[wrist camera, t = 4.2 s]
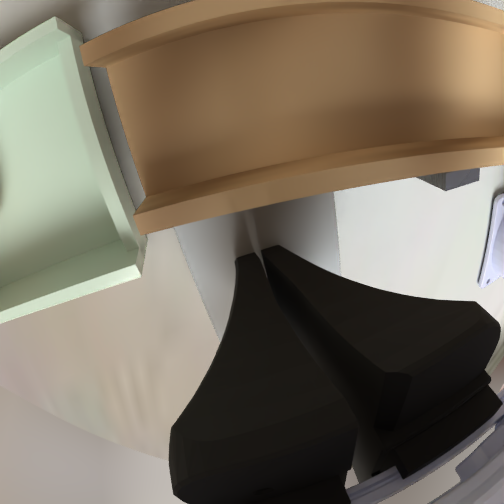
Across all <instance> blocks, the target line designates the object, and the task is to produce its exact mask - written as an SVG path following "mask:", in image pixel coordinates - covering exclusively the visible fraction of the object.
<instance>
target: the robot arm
mask: <svg viewBox="0 0 504 504" xmlns="http://www.w3.org/2000/svg"><path fill="white" fill-rule="evenodd" d="M261 253H262V258H263V262H264V266H265V270H266V273H265V270H264V268H263V265H262V262H261V260H260V258H259V257H258V256H257V255H256V253H255V252H253V253H250V254H247V255H244V256H241V257H238V258H236V260H235V261H234V263H235V268H236V278H235V288H234V296H233V301H232V305H231V310H230V315H229V318H228V322H227V325H226V329H225V332H224V334H223V337H222V340H221V343H220V345H219V348H218V350H217V352H216V355H215V357H214V359H213V362H212V364H211V366H210V368H209V370H208V371H207V373H206V375H205V377H204V379H203V380H202V382H201V384H200V386H199V388H198V389H197V391H196V393H195V395H194V396H193V398H192V399H191V401H190V402H189V404H188V405H187V406H186V408H185V409H184V411H183V412H182V414H181V415H180V416H179V418H178V419H177V421H176V422H175V423H174V425H173V426H172V427H171V433H170V443H169V468H170V475H171V483H172V489H173V494H174V495H175V496H176V497H178V498H179V499H180V500H182V501H183V502H186V503H187V504H377V503H379V502H381V501H383V500H385V499H387V498H389V497H391V496H393V495H395V494H397V493H399V492H400V491H402V490H404V489H406V488H408V487H409V486H411V485H413V484H414V483H416V482H418V481H419V480H421V479H423V478H424V477H426V476H428V475H429V474H431V473H432V472H434V471H435V470H437V469H438V468H440V467H441V466H443V465H444V464H446V463H447V462H449V461H450V460H452V459H453V458H454V457H455V456H457V455H458V454H460V453H461V452H462V451H464V450H465V449H466V448H468V447H469V446H470V445H472V444H473V443H474V442H475V441H477V440H478V439H479V438H480V437H481V436H483V435H484V434H485V433H486V432H487V431H488V430H489V429H491V428H492V427H493V426H494V425H495V424H496V423H497V424H496V425H495V431H494V432H493V433H491V435H489V436H488V437H487V438H486V439H485V440H484V441H483V442H482V443H481V444H480V445H479V446H478V447H477V448H476V449H475V450H474V452H473V453H471V454H470V455H469V456H468V457H467V458H466V459H465V460H464V461H462V462H461V463H460V464H459V465H458V466H457V467H456V469H455V470H456V472H457V474H458V475H459V477H460V479H461V480H460V482H459V483H458V484H456V485H455V486H454V487H452V488H451V489H449V490H448V491H446V492H445V493H443V494H442V495H440V496H439V497H437V498H436V499H434V500H433V501H431V502H429V503H428V504H504V389H502V390H501V391H500V392H499V393H498V394H497V395H496V394H495V393H494V391H493V390H492V389H491V388H490V387H489V385H488V384H489V383H490V382H491V377H490V376H489V375H488V374H487V372H486V371H485V368H486V366H487V364H488V362H489V360H490V358H491V356H492V354H493V352H494V350H495V348H496V346H497V344H498V341H499V338H500V332H501V327H500V324H499V322H498V321H496V320H495V319H494V318H493V317H492V316H491V315H490V314H489V313H488V312H487V311H486V310H485V309H483V308H482V307H481V306H480V305H479V304H478V303H477V302H475V301H452V300H436V299H428V298H421V297H414V296H408V295H402V294H398V293H393V292H389V291H385V290H381V289H377V288H373V287H370V286H367V285H364V284H361V283H358V282H355V281H352V280H349V279H346V278H344V277H341V276H339V275H337V274H334V273H332V272H330V271H327V270H325V269H323V268H321V267H319V266H317V265H315V264H313V263H311V262H309V261H307V260H305V259H303V258H302V257H300V256H298V255H296V254H294V253H293V252H291V251H289V250H287V249H286V248H284V247H282V246H280V245H275V246H272V247H269V248H266V249H263V250H261ZM266 274H267V276H266ZM499 277H503V278H504V193H503V194H501V195H498V196H497V197H496V198H495V200H494V205H493V213H492V220H491V226H490V232H489V238H488V244H487V249H486V254H485V259H484V263H483V268H482V272H481V276H480V280H479V287H480V288H484V287H486V286H487V285H489V284H490V283H492V282H493V281H495V280H496V279H498V278H499ZM267 278H268V279H267ZM351 466H353V469H354V471H355V474H356V476H357V479H358V482H359V484H357V485H355V486H352V487H350V488H348V489H345V481H346V475H347V471H348V470H350V469H351Z"/></svg>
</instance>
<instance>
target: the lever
mask: <svg viewBox="0 0 504 504" xmlns="http://www.w3.org/2000/svg"><path fill="white" fill-rule="evenodd" d="M79 47H80V52H81V56H82V60H83V64H84V66H90V67H104V68H106V69H107V73H108V77H109V81H110V85H111V88H112V92H113V95H114V99H115V102H116V106H117V109H118V113H119V116H120V119H121V123H122V126H123V129H124V132H125V136H126V139H127V142H128V145H129V148H130V151H131V154H132V157H133V160H134V163H135V166H136V169H137V172H138V175H139V178H140V181H141V183H142V186H143V189H144V192H145V195H146V198H145V200H144V201H143V202H142V204H141V205H140V206H139V208H138V209H137V210H136V212H135V213H134V215H133V218H134V221H135V223H136V226H137V228H138V231H139V233H140V235H145V234H149V233H152V232H156V231H160V230H164V229H168V228H172V227H174V229H175V232H176V235H177V238H178V240H179V243H180V245H181V248H182V251H183V253H184V256H185V258H186V261H187V264H188V266H189V269H190V271H191V274H192V276H193V279H194V281H195V284H196V286H197V289H198V291H199V294H200V296H201V298H202V301H203V303H204V306H205V308H206V310H207V313H208V315H209V318H210V320H211V322H212V325H213V327H214V329H215V331H216V334H217V336H218V338H219V341H220V343H221V340H222V337H223V334H224V332H225V329H226V325H227V322H228V318H229V315H230V310H231V305H232V301H233V296H234V288H235V278H236V268H235V263H234V261H235V260H236V258H238V257H241V256H244V255H247V254H250V253H253V252H255V253H256V255H257V256H258V257H259V258H260V260H261V262H262V265H263V268H264V270H265V266H264V262H263V258H262V253H261V250H263V249H266V248H269V247H272V246H275V245H280V246H282V247H284V248H286V249H287V250H289V251H291V252H293V253H294V254H296V255H298V256H300V257H302V258H303V259H305V260H307V261H309V262H311V263H313V264H315V265H317V266H319V267H321V268H323V269H325V270H327V271H330V272H332V273H334V274H337V275H339V276H341V267H340V254H339V242H338V231H337V221H336V211H335V202H334V194H333V191H339V190H344V189H349V188H355V187H360V186H366V185H371V184H377V183H382V182H388V181H394V180H400V179H406V178H412V177H418V176H425V175H431V174H438V173H445V172H451V171H458V170H466V169H473V168H481V167H488V166H496V165H504V11H503V10H500V9H497V8H494V7H491V6H488V5H485V4H482V3H479V2H476V1H472V0H194V1H191V2H187V3H184V4H180V5H177V6H174V7H171V8H168V9H165V10H162V11H159V12H156V13H153V14H150V15H148V16H145V17H142V18H140V19H137V20H134V21H132V22H130V23H127V24H125V25H122V26H120V27H118V28H115V29H113V30H111V31H109V32H107V33H105V34H102V35H100V36H98V37H96V38H94V39H92V40H90V41H88V42H86V43H84V44H82V45H81V46H79ZM265 273H266V270H265ZM266 276H267V274H266ZM267 279H268V278H267Z"/></svg>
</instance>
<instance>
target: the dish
mask: <svg viewBox="0 0 504 504" xmlns="http://www.w3.org/2000/svg"><path fill="white" fill-rule="evenodd" d="M82 44H84V42H83V37H82V33H81V32H79V31H78V30H76V29H75V28H73V27H72V26H70V25H69V24H67V23H65V22H64V21H62V20H61V19H59V18H58V17H56V16H55V17H53V18H51V19H49V20H47V21H45V22H44V23H42V24H40V25H38V26H37V27H35V28H33V29H31V30H30V31H28V32H26V33H25V34H23V35H22V36H20V37H19V38H17V39H15V40H14V41H12V42H11V43H9V44H8V45H6V46H5V47H4V48H2V49H1V50H0V324H1V323H4V322H7V321H9V320H12V319H15V318H18V317H21V316H24V315H27V314H30V313H33V312H36V311H39V310H42V309H45V308H48V307H51V306H54V305H57V304H60V303H63V302H66V301H69V300H72V299H75V298H78V297H81V296H84V295H87V294H90V293H93V292H96V291H99V290H102V289H106V288H109V287H112V286H115V285H118V284H121V283H124V282H127V281H130V280H133V279H136V278H139V277H142V271H143V264H144V258H145V253H146V247H147V241H148V240H147V238H146V235H140V233H139V231H138V228H137V226H136V223H135V221H134V218H133V215H134V213H135V212H136V210H135V208H134V205H133V203H132V200H131V197H130V195H129V192H128V189H127V187H126V184H125V181H124V178H123V176H122V173H121V170H120V167H119V164H118V161H117V158H116V155H115V153H114V150H113V147H112V143H111V140H110V137H109V134H108V131H107V128H106V125H105V121H104V118H103V115H102V111H101V108H100V104H99V101H98V97H97V94H96V90H95V87H94V83H93V79H92V75H91V71H90V67H89V66H84V64H83V60H82V56H81V52H80V47H79V46H81V45H82Z"/></svg>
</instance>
